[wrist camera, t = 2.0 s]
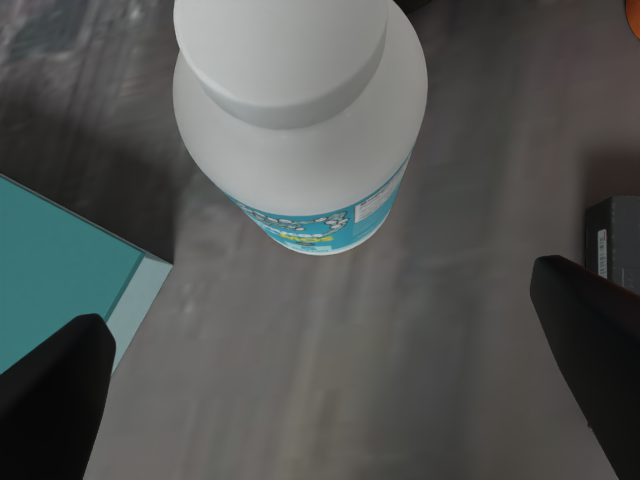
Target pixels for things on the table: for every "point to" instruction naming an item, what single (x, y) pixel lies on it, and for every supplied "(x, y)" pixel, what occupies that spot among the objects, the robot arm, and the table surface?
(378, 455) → the table surface
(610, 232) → the disk drive
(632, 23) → the paper cup
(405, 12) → the jar
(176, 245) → the table surface
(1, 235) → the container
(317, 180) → the pill bottle
